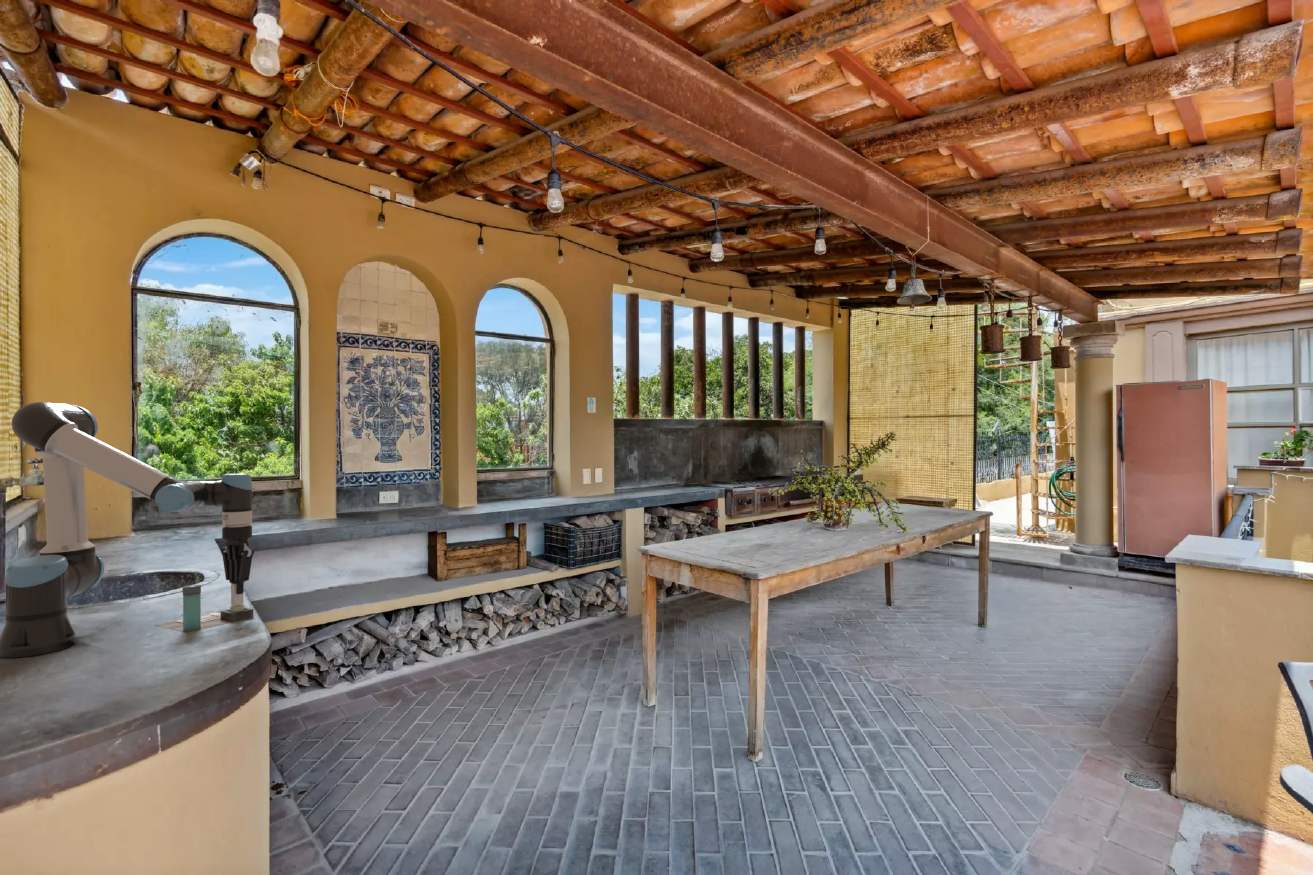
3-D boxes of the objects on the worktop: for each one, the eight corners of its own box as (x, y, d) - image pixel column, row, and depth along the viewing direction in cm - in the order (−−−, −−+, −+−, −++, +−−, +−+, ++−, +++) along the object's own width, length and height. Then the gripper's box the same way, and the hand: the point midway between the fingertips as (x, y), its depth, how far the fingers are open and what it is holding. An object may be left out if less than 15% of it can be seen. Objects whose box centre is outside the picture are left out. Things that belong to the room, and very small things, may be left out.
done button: (227, 615, 193) (227, 606, 193) (239, 612, 196) (239, 603, 196) (234, 616, 191) (234, 607, 191) (246, 614, 194) (246, 604, 194)
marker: (179, 631, 180) (179, 588, 180) (186, 627, 184) (186, 585, 184) (197, 630, 181) (197, 587, 181) (203, 626, 185) (203, 584, 185)
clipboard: (156, 629, 186) (156, 616, 186) (222, 614, 202) (222, 602, 202) (187, 637, 179) (187, 624, 179) (253, 620, 195) (253, 608, 195)
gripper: (211, 525, 193) (211, 604, 193) (237, 528, 187) (237, 610, 187) (237, 522, 200) (237, 599, 200) (263, 525, 194) (263, 604, 194)
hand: (237, 604), depth 194 cm, fingers closed
